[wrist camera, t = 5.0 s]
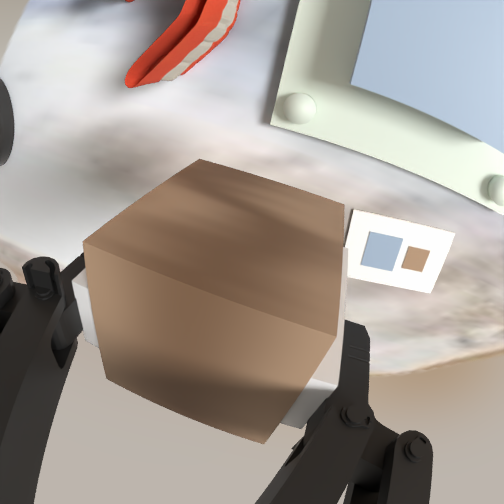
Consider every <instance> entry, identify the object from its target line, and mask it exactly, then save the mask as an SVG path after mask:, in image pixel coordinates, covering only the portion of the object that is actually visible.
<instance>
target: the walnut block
mask: <svg viewBox="0 0 504 504" xmlns="http://www.w3.org/2000/svg"><path fill="white" fill-rule="evenodd" d="M343 238H344V204H341V203H338V202H335V201H333V200H330V199H327V198H324V197H321V196H318V195H315V194H312V193H309V192H306V191H304V190H301V189H297V188H294V187H291V186H288V185H285V184H282V183H279V182H276V181H273V180H270V179H266V178H263V177H260V176H257V175H253V174H250V173H247V172H244V171H240V170H237V169H233V168H230V167H226V166H223V165H219V164H216V163H212V162H209V161H205V160H202V159H199V160H197V161H195V162H194V163H192V164H191V165H189V166H188V167H186V168H185V169H183V170H181V171H180V172H178V173H177V174H175V175H174V176H172V177H171V178H169V179H168V180H166V181H165V182H163V183H162V184H160V185H159V186H157V187H156V188H155V189H153V190H152V191H150V192H149V193H147V194H146V195H144V196H143V197H142V198H140V199H139V200H137V201H136V202H135V203H133V204H132V205H130V206H129V207H128V208H126V209H125V210H123V211H122V212H121V213H119V214H118V215H117V216H115V217H114V218H113V219H111V220H110V221H109V222H107V223H106V224H105V225H103V226H102V227H101V228H99V229H98V230H97V231H96V232H94V233H93V234H92V235H90V236H89V237H88V238H87V239H85V240H84V241H83V249H84V258H85V267H86V275H87V282H88V289H89V296H90V302H91V308H92V314H93V319H94V325H95V330H96V335H97V340H98V344H99V349H100V353H101V357H102V362H103V366H104V370H105V374H106V378H107V379H108V380H110V381H112V382H114V383H115V384H117V385H119V386H121V387H123V388H125V389H127V390H129V391H131V392H133V393H135V394H137V395H139V396H141V397H143V398H146V399H148V400H150V401H152V402H154V403H156V404H158V405H160V406H163V407H165V408H167V409H169V410H172V411H174V412H176V413H179V414H181V415H184V416H186V417H188V418H191V419H193V420H196V421H198V422H201V423H203V424H206V425H209V426H211V427H214V428H216V429H219V430H222V431H225V432H228V433H231V434H233V435H237V436H240V437H242V438H245V439H248V440H252V441H255V442H258V443H261V444H264V443H265V442H266V441H267V439H268V438H269V437H270V436H271V434H272V433H273V432H274V430H275V429H276V427H277V426H278V425H279V423H280V422H281V421H282V419H283V418H284V416H285V415H286V414H287V412H288V411H289V409H290V408H291V407H292V405H293V404H294V402H295V401H296V399H297V398H298V396H299V395H300V393H301V392H302V391H303V389H304V388H305V386H306V385H307V383H308V382H309V380H310V378H311V377H312V375H313V374H314V372H315V371H316V369H317V368H318V366H319V365H320V363H321V361H322V360H323V358H324V357H325V355H326V353H327V352H328V350H329V349H330V347H331V345H332V344H333V342H334V340H335V339H336V337H337V329H338V318H339V306H340V293H341V278H342V261H343Z"/></svg>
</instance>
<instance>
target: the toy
mask: <svg viewBox="0 0 504 504" xmlns="http://www.w3.org/2000/svg"><path fill="white" fill-rule="evenodd" d="M125 1H127V2H132V1H134V0H125ZM239 5H240V0H186V1H185V3H184V6H183V8H182V11H181V12H180V14H179V16H178V17H177V18H176V20H175V21H174V22H173V23H172V24H171V25H170V26H169V27H168V28H167V29H166V31H165V32H164V33H163V34H162V35H161V36H160V37H159V38H158V39H157V40H156V41H155V42H154V43H153V44H152V45H151V46H150V47H149V48H148V49H147V50H146V51H145V52H144V53H143V54H142V55H141V56H140V57H139V58H138V59H137V61H136V62H135V63H134V64H133V65H132V66H131V68H130V69H129V71H128V73H127V75H126V78H125V84H126V86H127V87H128V88H134V87H138V86H141V85H145V84H150V83H155V82H159V81H160V80H165V81H172V80H174V79H176V78H177V77H178V76H179V75H183V74H185V73H186V72H187V71H188V70H190V69H191V68H192V67H193V66H194V65H195V64H196V63H198V62H199V61H200V60H202V59H203V58H204V57H205V56H206V55H207V54H208V53H210V52H211V51H212V50H213V49H214V48H215V47H216V46H217V45H218V44H219V43H220V42H221V41H223V40H224V39H225V37H226V36H227V35H228V33H229V31H230V30H231V29H232V27H233V25H234V23H235V21H236V18H237V11H238V9H239Z"/></svg>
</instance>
